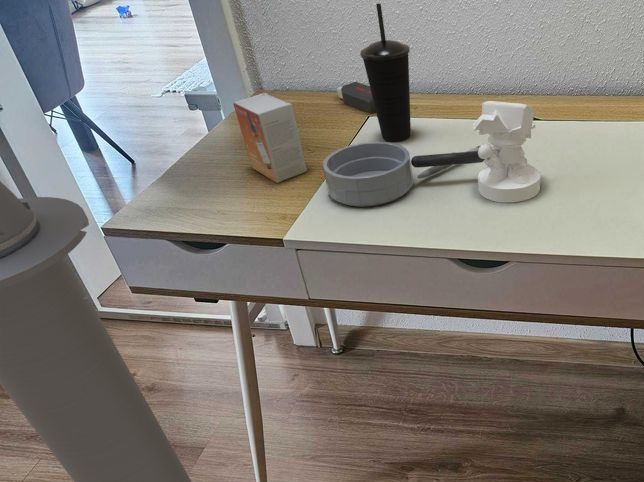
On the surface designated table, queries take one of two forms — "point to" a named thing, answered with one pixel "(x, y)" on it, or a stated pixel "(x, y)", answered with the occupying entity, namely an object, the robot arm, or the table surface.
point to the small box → (271, 136)
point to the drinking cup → (389, 84)
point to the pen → (438, 167)
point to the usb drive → (357, 96)
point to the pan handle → (446, 159)
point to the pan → (368, 173)
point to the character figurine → (506, 153)
